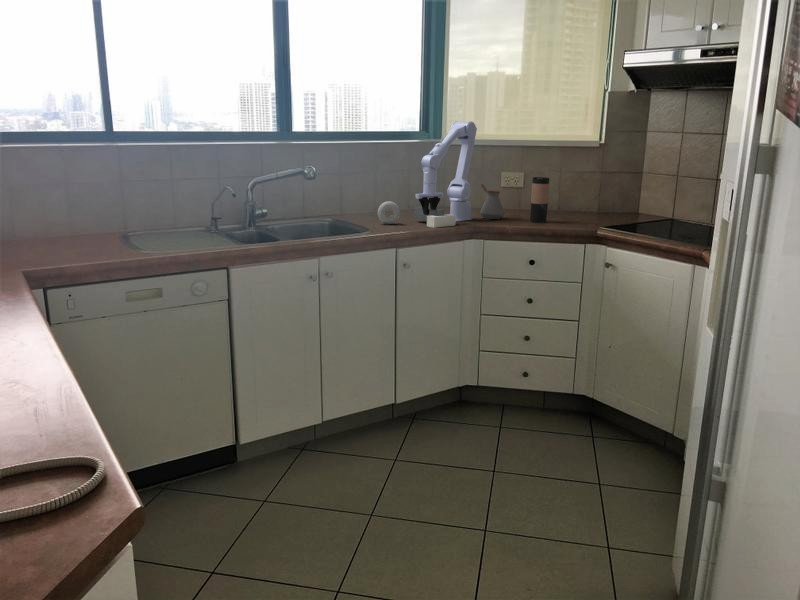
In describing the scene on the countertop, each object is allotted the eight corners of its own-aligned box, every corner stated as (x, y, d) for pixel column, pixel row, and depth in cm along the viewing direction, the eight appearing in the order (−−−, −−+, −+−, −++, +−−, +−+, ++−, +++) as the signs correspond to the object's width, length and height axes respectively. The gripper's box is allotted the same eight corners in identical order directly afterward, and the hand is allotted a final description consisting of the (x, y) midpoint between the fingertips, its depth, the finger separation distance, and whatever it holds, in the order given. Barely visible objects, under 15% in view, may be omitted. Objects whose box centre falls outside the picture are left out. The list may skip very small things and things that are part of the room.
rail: (420, 217, 303) (420, 206, 301) (443, 221, 290) (444, 210, 289) (414, 217, 300) (414, 206, 299) (437, 222, 288) (438, 210, 287)
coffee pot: (508, 220, 311) (509, 187, 307) (484, 220, 308) (486, 187, 304) (490, 214, 331) (492, 183, 327) (469, 214, 328) (470, 183, 324)
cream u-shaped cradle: (448, 224, 295) (448, 213, 294) (455, 225, 292) (455, 215, 291) (426, 226, 288) (427, 215, 286) (434, 227, 284) (434, 217, 283)
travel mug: (545, 221, 309) (548, 177, 304) (547, 223, 302) (550, 178, 297) (528, 220, 310) (531, 176, 305) (530, 222, 303) (533, 178, 298)
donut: (398, 223, 295) (399, 200, 293) (400, 224, 292) (401, 201, 290) (376, 223, 293) (376, 201, 290) (378, 225, 290) (378, 201, 287)
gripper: (436, 181, 299) (435, 212, 302) (411, 183, 290) (410, 214, 293) (446, 183, 293) (445, 213, 297) (421, 184, 285) (421, 216, 288)
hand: (429, 214), depth 295 cm, fingers closed on rail, 3 cm apart
